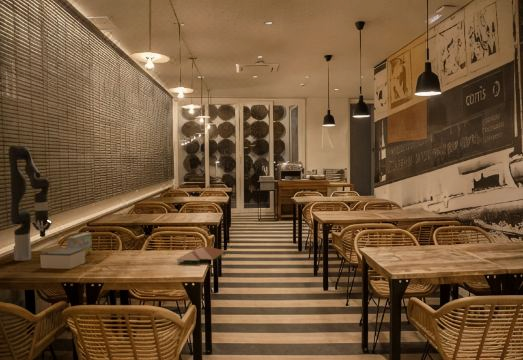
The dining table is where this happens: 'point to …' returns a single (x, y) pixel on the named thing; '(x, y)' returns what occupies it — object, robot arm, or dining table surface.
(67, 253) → the mailer lid
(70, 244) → the snack box
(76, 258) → the box
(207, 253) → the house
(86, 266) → the dining table surface
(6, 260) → the dining table surface
